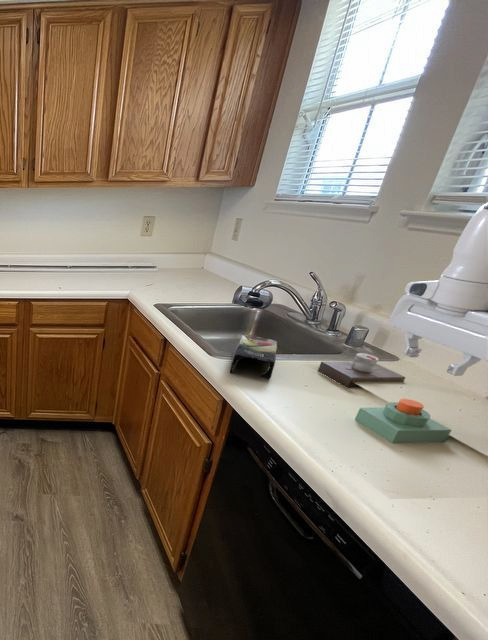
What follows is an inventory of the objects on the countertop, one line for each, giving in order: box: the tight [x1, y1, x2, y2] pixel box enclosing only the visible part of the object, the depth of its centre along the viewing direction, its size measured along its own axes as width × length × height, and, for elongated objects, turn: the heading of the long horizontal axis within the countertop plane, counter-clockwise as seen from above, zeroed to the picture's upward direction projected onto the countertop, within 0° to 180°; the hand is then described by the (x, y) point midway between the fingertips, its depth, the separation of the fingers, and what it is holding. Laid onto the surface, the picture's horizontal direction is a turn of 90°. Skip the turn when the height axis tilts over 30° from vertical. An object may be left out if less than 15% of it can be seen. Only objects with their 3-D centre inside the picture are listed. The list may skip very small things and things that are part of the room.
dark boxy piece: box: [229, 334, 278, 380], centre depth 116 cm, size 20×10×6 cm, turn 147°
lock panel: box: [317, 360, 406, 389], centre depth 109 cm, size 14×10×3 cm
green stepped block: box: [354, 401, 452, 444], centre depth 86 cm, size 11×9×5 cm
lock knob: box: [351, 352, 379, 372], centre depth 107 cm, size 4×4×4 cm
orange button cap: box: [396, 398, 425, 415], centre depth 85 cm, size 4×4×2 cm
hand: (431, 364), depth 81 cm, fingers open, 7 cm apart
